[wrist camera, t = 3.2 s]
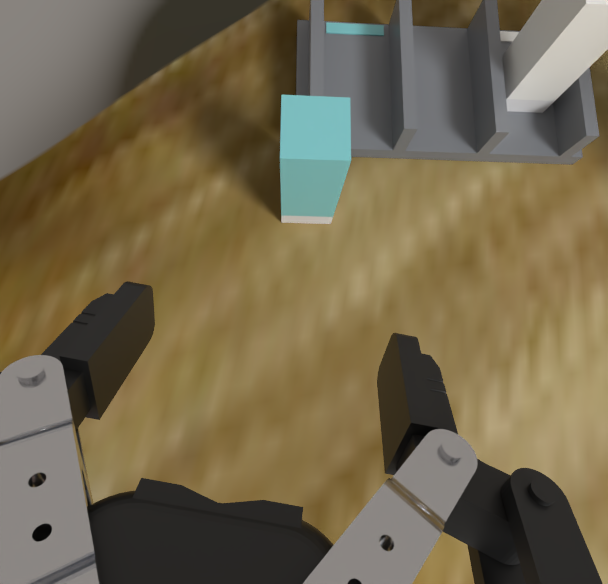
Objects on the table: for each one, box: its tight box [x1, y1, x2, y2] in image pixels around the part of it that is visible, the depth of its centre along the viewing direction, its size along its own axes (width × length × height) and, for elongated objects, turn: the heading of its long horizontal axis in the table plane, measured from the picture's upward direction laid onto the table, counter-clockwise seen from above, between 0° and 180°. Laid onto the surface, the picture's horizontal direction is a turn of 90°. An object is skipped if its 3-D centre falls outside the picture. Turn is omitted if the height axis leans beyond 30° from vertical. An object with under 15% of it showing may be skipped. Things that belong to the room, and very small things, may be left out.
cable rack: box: [296, 0, 599, 164], centre depth 32 cm, size 24×12×4 cm, turn 89°
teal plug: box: [280, 95, 351, 224], centre depth 27 cm, size 4×4×10 cm
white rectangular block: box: [502, 0, 608, 113], centre depth 29 cm, size 4×4×10 cm
